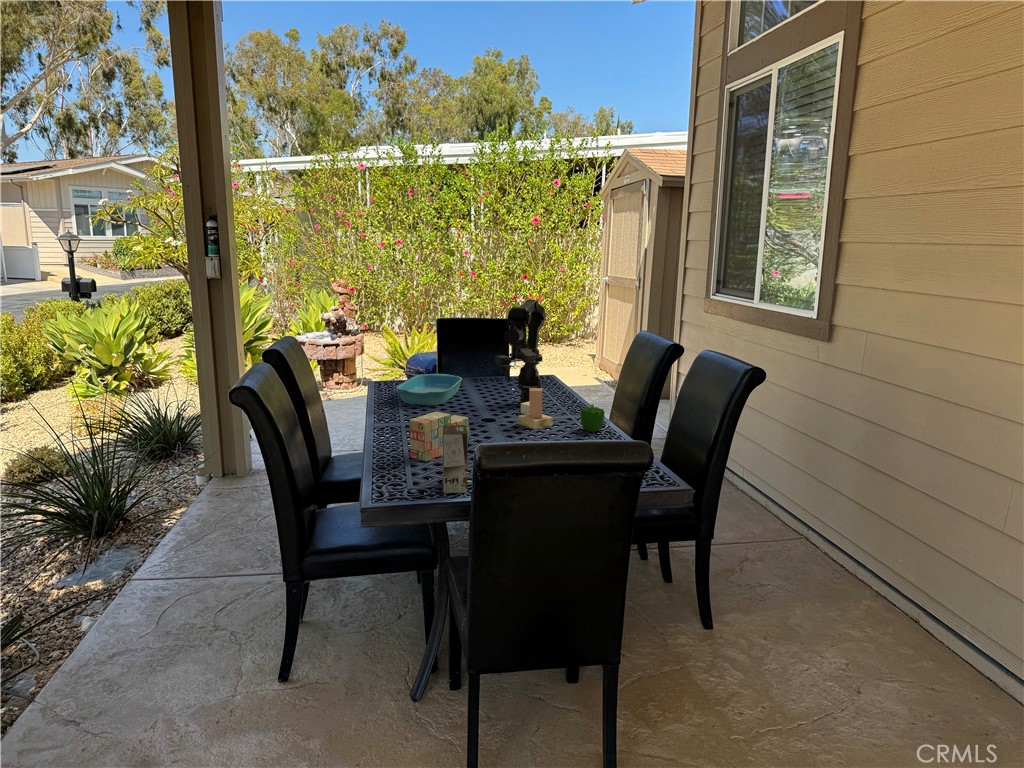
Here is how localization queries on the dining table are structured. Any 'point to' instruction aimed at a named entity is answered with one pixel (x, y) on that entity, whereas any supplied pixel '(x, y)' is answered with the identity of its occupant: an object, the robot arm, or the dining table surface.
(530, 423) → the base brick
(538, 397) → the pillar brick
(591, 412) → the bell pepper
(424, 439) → the stack of blocks
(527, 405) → the brick
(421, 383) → the casserole dish
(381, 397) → the dining table surface
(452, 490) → the coffee box
